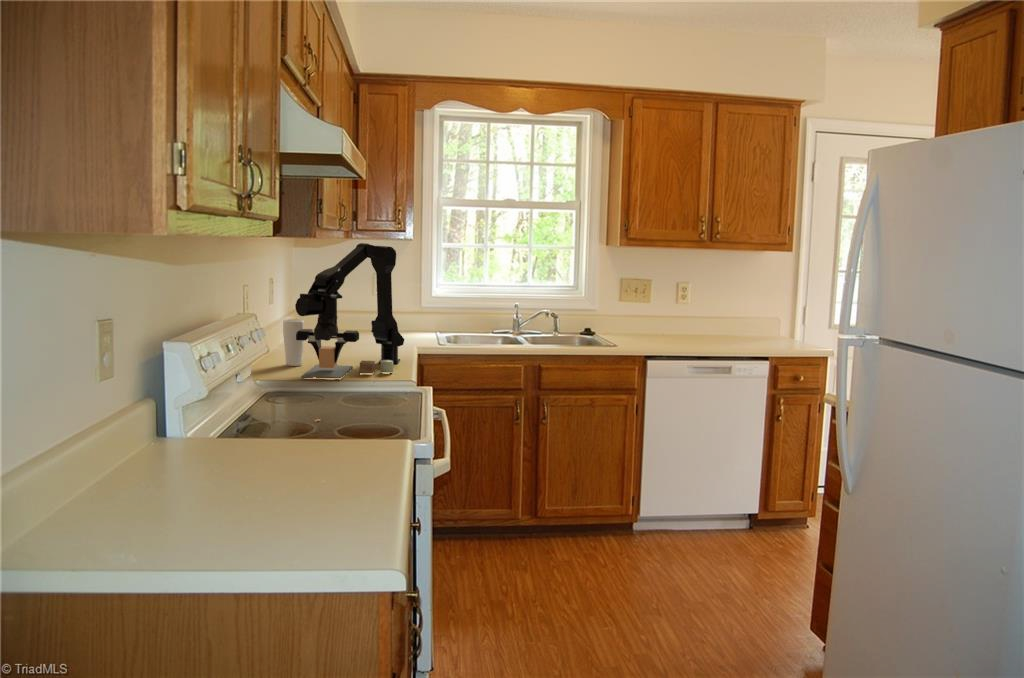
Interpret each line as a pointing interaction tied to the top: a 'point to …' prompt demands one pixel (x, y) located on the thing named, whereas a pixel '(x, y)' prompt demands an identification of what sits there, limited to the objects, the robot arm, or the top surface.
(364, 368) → the walnut block
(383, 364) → the sage cylinder
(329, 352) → the terracotta block
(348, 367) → the slate mat
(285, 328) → the drinking glass
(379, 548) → the top surface
